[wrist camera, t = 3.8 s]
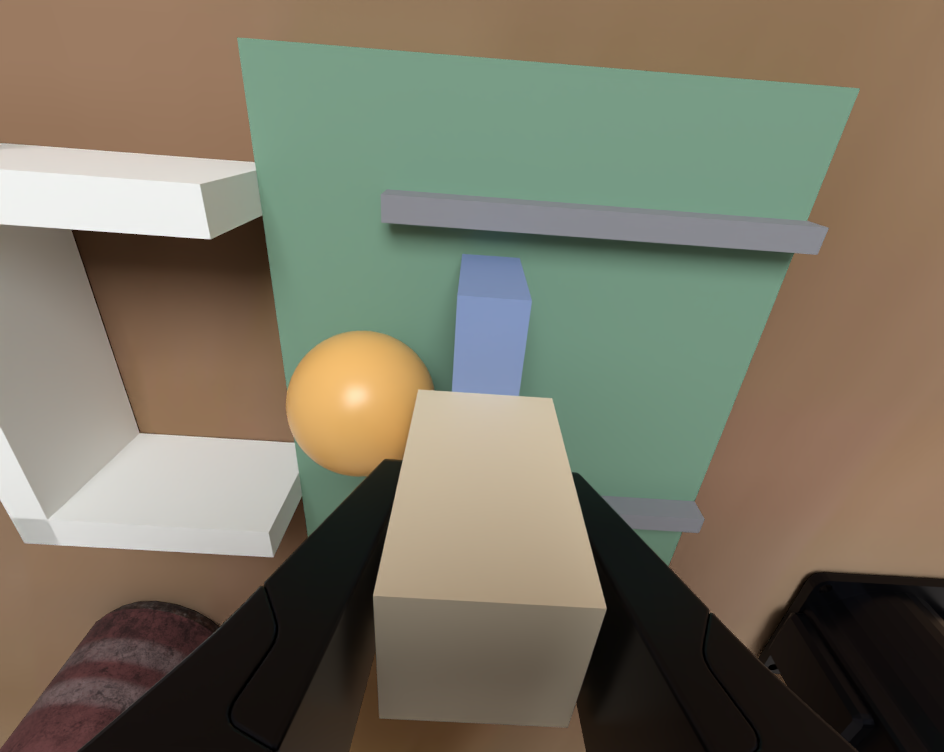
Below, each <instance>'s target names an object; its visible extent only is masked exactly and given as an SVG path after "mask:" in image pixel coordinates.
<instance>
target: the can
mask: <svg viewBox="0 0 944 752" xmlns="http://www.w3.org/2000/svg"><path fill="white" fill-rule="evenodd" d="M218 628H219V627H218V626H217V625H215V624H214V623H213V622H212V621H211V620H209V619H208V618H206V617H204V616H203V615H201V614H199V613H198V612H196V611H193V610H190V609H187V608H185V607H182V606H179V605H175V604H170V603H164V602H158V601H150V602H136V603H132V604H128V605H124V606H122V607H120V608H118V609H116V610H114V611H112V612H110V613H108V614H107V615H105V616H104V617H103V618H101V619H100V620H98V621H97V622H96V623H95V624H94V626H93V627H92V628H91V629H90V631H89V632H88V633H87V635H86V636H85V637H84V639H83V640H82V641H81V643H80V644H79V645H78V647H77V648H76V649H75V651H74V652H73V653H72V655H71V656H70V657H69V659H68V660H67V661H66V663H65V664H64V665H63V667H62V668H61V669H60V671H59V672H58V673H57V675H56V676H55V677H54V679H53V680H52V681H51V683H50V684H49V685H48V687H47V688H46V689H45V691H44V692H43V693H42V695H41V696H40V697H39V699H38V700H37V701H36V703H35V704H34V705H33V706H32V708H31V709H30V710H29V712H28V713H27V714H26V716H25V717H24V718H23V720H22V721H21V722H20V724H19V725H18V726H17V728H16V729H15V730H14V732H13V733H12V734H11V736H10V737H9V738H8V740H7V741H6V742H5V744H4V745H3V746H2V748H1V749H0V752H76V751H77V750H79V749H80V748H81V747H82V746H84V745H85V744H86V743H87V742H88V741H90V740H91V739H92V738H93V737H94V736H95V735H97V734H98V733H99V732H100V731H101V730H102V729H104V728H105V727H106V726H107V725H108V724H109V723H111V722H112V721H113V720H114V719H115V718H116V717H118V716H119V715H120V714H121V713H122V712H123V711H125V710H126V709H127V708H128V707H129V706H130V705H131V704H133V703H134V702H135V701H136V700H137V699H138V698H140V697H141V696H142V695H143V694H144V693H145V692H147V691H148V690H149V689H150V688H151V687H152V686H154V685H155V684H156V683H157V682H158V681H159V680H161V679H162V678H163V677H164V676H165V675H166V674H168V673H169V672H170V671H171V670H172V669H173V668H175V667H176V666H177V665H178V664H179V663H180V662H181V661H183V660H184V659H185V658H186V657H187V656H188V655H189V654H190V653H192V652H193V651H194V650H195V649H196V648H197V647H198V646H199V645H200V644H202V643H203V642H204V641H205V640H206V639H207V638H208V637H209V636H211V635H212V634H213V633H214V632H215V631H216V630H217V629H218Z"/></svg>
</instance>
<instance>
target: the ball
mask: <svg viewBox="0 0 944 752" xmlns="http://www.w3.org/2000/svg"><path fill="white" fill-rule="evenodd" d="M418 389H419V390H434V385H433V381H432V378H431V376H430V373H429V371H428V369H427V367H426V366H425V364H424V363H423V361H422V360H421V359H420V357H419V356H418V355H417V354H416V353H415V352H414V351H413V350H412V349H411V348H410V347H408V346H407V345H406V344H404V343H403V342H401V341H400V340H398V339H395V338H393V337H391V336H389V335H386V334H383V333H378V332H373V331H350V332H345V333H341V334H338V335H335V336H332V337H330V338H328V339H326V340H324V341H322V342H321V343H319V344H318V345H316V346H315V347H314V348H313V349H311V350H310V351H309V352H308V353H307V354H306V355H305V356H304V358H303V359H302V360H301V361H300V363H299V364H298V366H297V367H296V369H295V371H294V373H293V375H292V377H291V380H290V383H289V386H288V390H287V397H286V413H287V419H288V423H289V427H290V429H291V432H292V434H293V436H294V438H295V440H296V442H297V443H298V445H299V446H300V447H301V449H302V450H303V451H304V452H305V453H306V454H307V455H308V456H309V457H310V458H311V459H312V460H313V461H314V462H316V463H317V464H319V465H320V466H322V467H324V468H326V469H328V470H330V471H333V472H335V473H338V474H342V475H347V476H355V477H363V476H368V475H369V474H370V473H371V472H372V471H373V470H374V469H375V468H376V467H377V466H378V465H379V464H380V463H381V462H382V461H383V460H384V459H401V460H403V457H404V452H405V448H406V443H407V439H408V434H409V430H410V425H411V420H412V416H413V411H414V407H415V402H416V398H417V393H418ZM434 391H435V390H434Z"/></svg>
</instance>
